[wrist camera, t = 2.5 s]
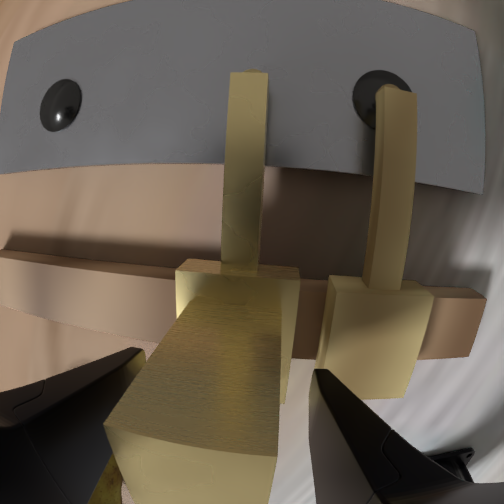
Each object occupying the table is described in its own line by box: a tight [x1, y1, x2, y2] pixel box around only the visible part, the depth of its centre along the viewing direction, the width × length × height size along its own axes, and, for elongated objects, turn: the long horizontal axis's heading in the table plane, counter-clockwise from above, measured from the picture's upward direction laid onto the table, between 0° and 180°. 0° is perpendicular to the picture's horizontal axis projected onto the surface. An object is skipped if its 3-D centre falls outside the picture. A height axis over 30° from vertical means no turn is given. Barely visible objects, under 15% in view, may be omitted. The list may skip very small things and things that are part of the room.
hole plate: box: [0, 0, 485, 195], centre depth 11 cm, size 24×8×1 cm, turn 87°
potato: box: [88, 454, 123, 504], centre depth 14 cm, size 8×13×8 cm, turn 154°
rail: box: [0, 84, 487, 400], centre depth 11 cm, size 26×12×3 cm, turn 87°
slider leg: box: [103, 69, 301, 504], centre depth 8 cm, size 4×12×8 cm, turn 177°
